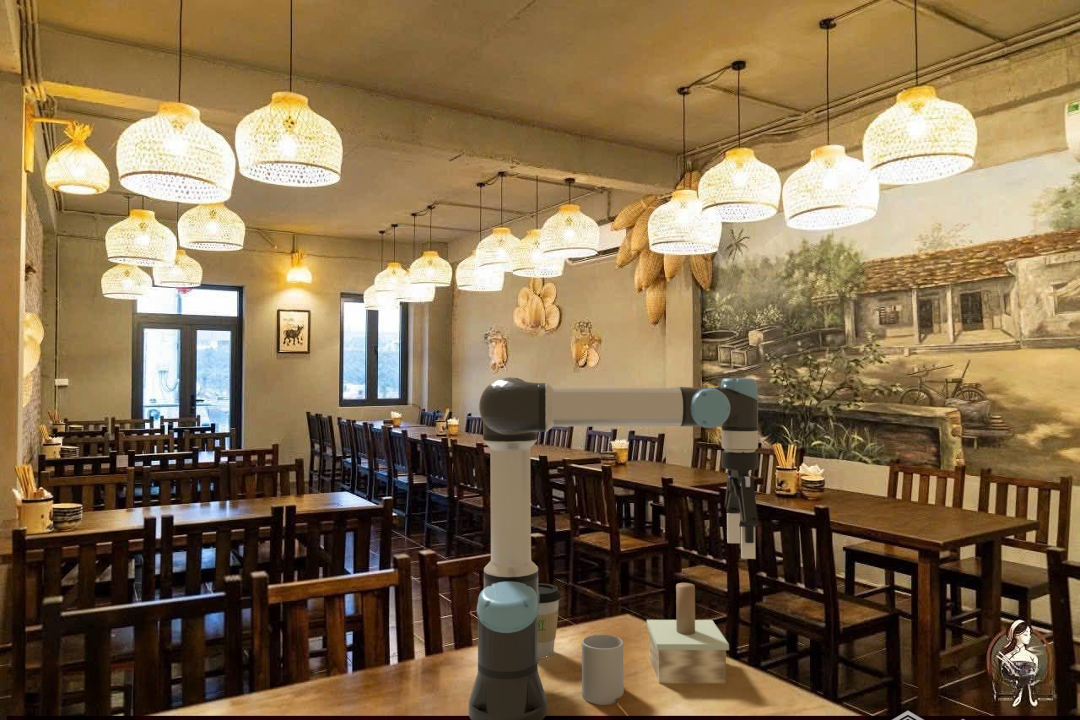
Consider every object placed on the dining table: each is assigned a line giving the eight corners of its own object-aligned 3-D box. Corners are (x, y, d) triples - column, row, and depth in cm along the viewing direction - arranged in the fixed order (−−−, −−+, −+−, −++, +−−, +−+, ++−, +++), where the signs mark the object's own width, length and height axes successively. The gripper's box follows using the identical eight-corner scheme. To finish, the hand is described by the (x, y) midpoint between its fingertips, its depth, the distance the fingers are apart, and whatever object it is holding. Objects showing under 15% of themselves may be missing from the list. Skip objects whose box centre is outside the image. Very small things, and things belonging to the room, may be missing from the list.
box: (659, 687, 149) (658, 649, 149) (649, 661, 163) (649, 625, 163) (726, 687, 149) (725, 649, 149) (710, 661, 163) (710, 625, 163)
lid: (656, 654, 149) (656, 595, 149) (646, 629, 164) (646, 575, 164) (729, 654, 148) (728, 595, 149) (712, 629, 163) (711, 576, 164)
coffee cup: (514, 647, 171) (514, 584, 172) (553, 643, 174) (553, 581, 175) (525, 663, 162) (525, 596, 162) (566, 658, 165) (566, 592, 165)
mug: (625, 705, 141) (625, 649, 141) (582, 705, 141) (582, 649, 141) (620, 680, 153) (620, 628, 153) (580, 679, 153) (580, 628, 153)
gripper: (773, 456, 140) (774, 565, 139) (744, 444, 165) (744, 537, 164) (735, 456, 140) (735, 565, 140) (711, 444, 165) (711, 537, 165)
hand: (740, 550), depth 152 cm, fingers open, 13 cm apart
